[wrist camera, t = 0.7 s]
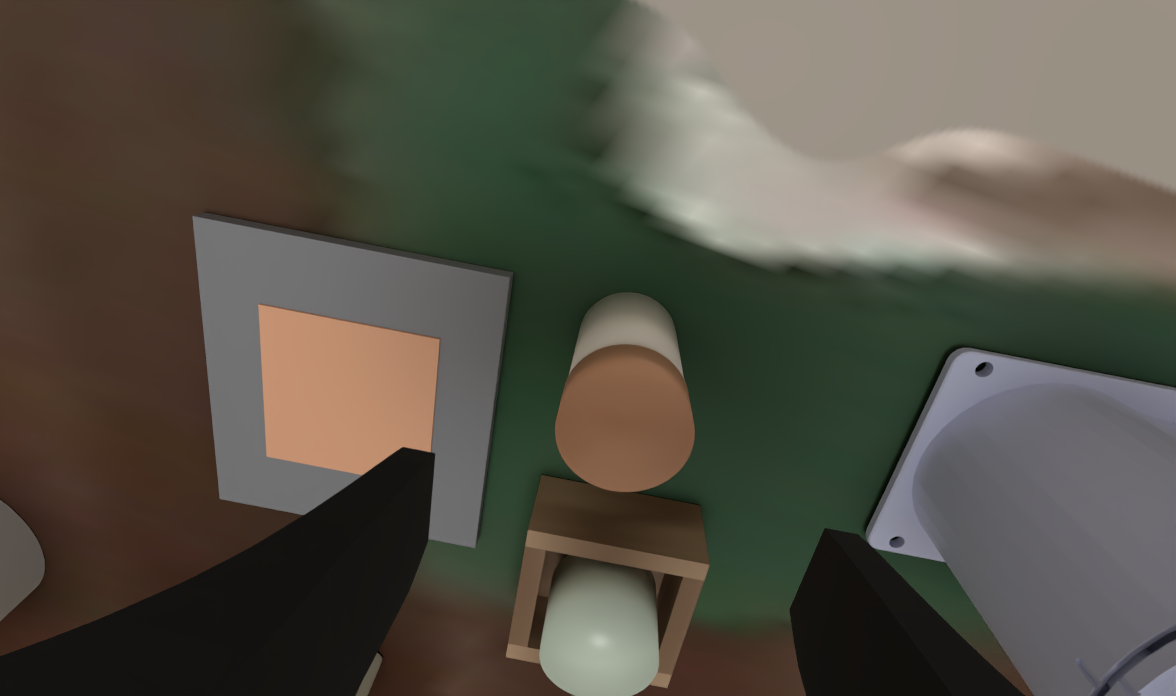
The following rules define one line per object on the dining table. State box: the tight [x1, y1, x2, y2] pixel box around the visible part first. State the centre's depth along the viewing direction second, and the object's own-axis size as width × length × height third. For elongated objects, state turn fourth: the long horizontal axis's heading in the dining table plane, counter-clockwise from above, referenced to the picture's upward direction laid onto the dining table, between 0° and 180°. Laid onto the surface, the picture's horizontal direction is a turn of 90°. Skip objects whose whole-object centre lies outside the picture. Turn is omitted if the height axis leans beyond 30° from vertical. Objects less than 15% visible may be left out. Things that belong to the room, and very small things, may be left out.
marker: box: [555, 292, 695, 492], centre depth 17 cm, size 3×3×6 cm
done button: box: [539, 555, 659, 696], centre depth 20 cm, size 4×4×3 cm
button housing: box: [506, 475, 710, 688], centre depth 22 cm, size 6×6×3 cm
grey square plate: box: [193, 212, 514, 548], centre depth 21 cm, size 10×11×1 cm
